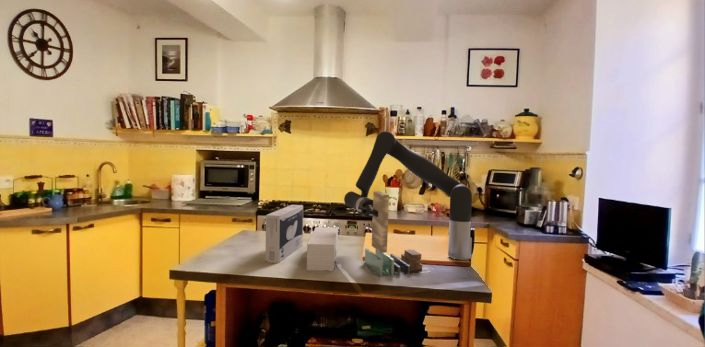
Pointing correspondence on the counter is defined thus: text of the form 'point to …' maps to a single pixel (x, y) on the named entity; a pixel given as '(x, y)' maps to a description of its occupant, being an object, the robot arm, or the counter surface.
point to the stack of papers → (322, 249)
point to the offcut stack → (412, 259)
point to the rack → (388, 264)
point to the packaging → (283, 232)
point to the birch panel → (380, 221)
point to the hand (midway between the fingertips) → (381, 214)
